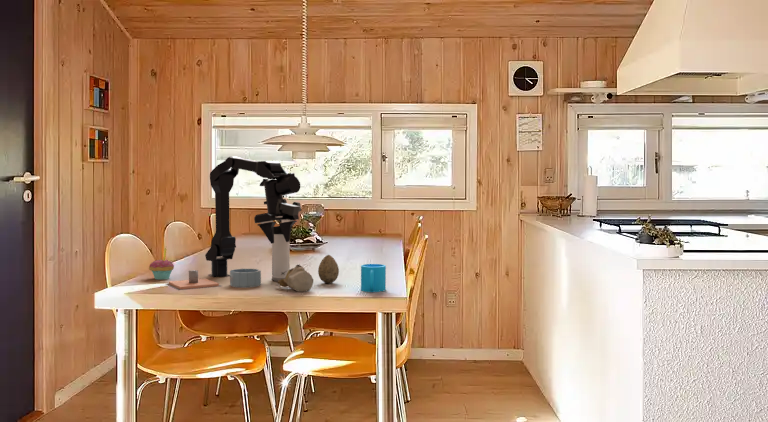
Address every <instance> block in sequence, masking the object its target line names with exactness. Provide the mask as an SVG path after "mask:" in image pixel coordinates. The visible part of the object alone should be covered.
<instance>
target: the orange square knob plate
mask: <svg viewBox="0 0 768 422" xmlns="http://www.w3.org/2000/svg"><path fill="white" fill-rule="evenodd" d="M168 283H169V284H170V285H172V286H174V287H176V288H178V289H187V290H192V289H191V288H199V289H203V288H202V287H210V288H215V287H214V286H219V285H220V283H219V282H216V281H213V280H211V279H208V278H199V270H195V269H191V270H188V279H184V280H172V281H168Z"/></svg>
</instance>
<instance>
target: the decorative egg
mask: <svg viewBox="0 0 768 422" xmlns="http://www.w3.org/2000/svg"><path fill="white" fill-rule="evenodd" d="M339 270H340V268H339V265H338V263H337V261H336V259H335V258H334V257H333V256H332V255H330V254H327V255H325V256H324V257H323V258H322V259H321V260H320V263H319V266H318V270H317V274H318V277H319V279H320V280H321V281H322V282H323V283H324V284H332V283H334V282H335V281H337V280H338V276H339V272H340V271H339Z"/></svg>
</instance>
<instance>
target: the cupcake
mask: <svg viewBox="0 0 768 422" xmlns="http://www.w3.org/2000/svg"><path fill="white" fill-rule="evenodd" d="M166 256H167V247H164V250H163V259H156V260H153V261H152V262H150V264H149V266H148V270H149V271H151V272H152V274H153V277H154V279H155V280H168V279H170V277H171V274H172V271H174V268H175V264H174V263H172V261H169V260H167V259H166Z"/></svg>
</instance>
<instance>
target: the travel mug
mask: <svg viewBox="0 0 768 422" xmlns="http://www.w3.org/2000/svg"><path fill="white" fill-rule="evenodd" d="M290 241H291V239H290V240H289V242H286V240H285V238H284V236H283V233H282V230H281V228H280V225H277V226H275V225H274V243H272V244H271V280H272V281H273V280H274V281H273V282H277V280H278V281H279V280H281V279H285V277H286V275H287V273H288V271H289V270H290V269H291V267H290V265H291V264H290V262H291V260H290V259H291V257H290V250H291V247H290V246H291V245H290Z"/></svg>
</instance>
